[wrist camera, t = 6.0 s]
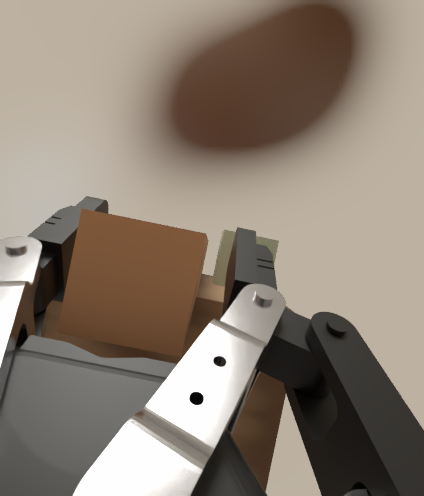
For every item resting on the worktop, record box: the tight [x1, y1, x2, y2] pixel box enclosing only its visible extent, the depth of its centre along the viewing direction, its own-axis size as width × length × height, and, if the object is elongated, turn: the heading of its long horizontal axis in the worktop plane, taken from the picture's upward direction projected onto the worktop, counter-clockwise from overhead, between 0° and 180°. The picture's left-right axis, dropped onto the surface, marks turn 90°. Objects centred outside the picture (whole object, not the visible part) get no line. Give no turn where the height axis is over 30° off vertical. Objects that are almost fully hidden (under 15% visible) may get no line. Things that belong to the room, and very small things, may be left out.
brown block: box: [57, 209, 208, 357], centre depth 19 cm, size 3×22×3 cm, turn 0°
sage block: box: [213, 230, 279, 286], centre depth 26 cm, size 4×4×4 cm
